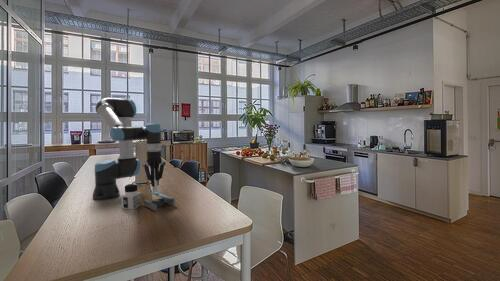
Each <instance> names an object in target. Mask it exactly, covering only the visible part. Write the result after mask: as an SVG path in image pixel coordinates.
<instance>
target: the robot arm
mask: <svg viewBox="0 0 500 281" xmlns="http://www.w3.org/2000/svg"><path fill="white" fill-rule="evenodd" d="M95 112H96V114H97V115H98V117H99V118H102V119H103V121H104V122H105V123H106V125H107V126H108V127H109V129H110V131H109V136H110V139H111V140H112V141H114V142H118V147H119V149H118V150H119V156H118V157H117V161H116V160H115V159H106V160H105V159H104V160H102V161H98V162H97V163H95V164H94V170H93V171H94V179H95V180H94V181H95V182H94V184H95V186H94V189H93V192H92V199H93V200H99V201H102V200H110V199H115V198H117V197H119V196H121V195H120V194H121V193H120V190H119V187H118V185H117V180H118V179H124V178H125V179H126V178H132V177H136V176H138V174H139V172H140V171H141V163H140V159H138V158H137V156H136V155H135V154H134V141H145V140H146V151H147V152H146V158H147V160H146V162H145V163H143V164H142V167H143V168H144V172H145V174H146V178H147V180H148V181H150V183H151V184H150V185H151V187H152V192H155V193H159V192H158V187H159V185H160V180H161V179H163V174H164V170H165V165H166V162H165V161H163V160H162V139H161V138H162V135H161V134H162V132H161V131H162V130H161V124H160V123H147V124H146V125H145V126H133V125H132V123H133V122H132V120H134V117H135V116H136V115H137V105H136V104H135V102H134V100H132V99H129V98H118V97H117V98H116V97H115V98H114V97H105V98H102V99H100V100H99V101H98V102H97V103H96V105H95Z"/></svg>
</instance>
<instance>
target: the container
mask: <svg viewBox="0 0 500 281" xmlns="http://www.w3.org/2000/svg"><path fill="white" fill-rule="evenodd" d="M142 199H143V198H142V192H141V191H139V190H138V184H136V183H128V184H126V185H125V186H124V193H123V194H121V195H120V201H121V202H120V204H121V207H120V208H121V209H122V210H123V209H125V210H134V209H137V208H138V207H141V206H142V204H143V203H142V202H143V201H142Z"/></svg>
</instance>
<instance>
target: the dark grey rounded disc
mask: <svg viewBox="0 0 500 281" xmlns="http://www.w3.org/2000/svg"><path fill="white" fill-rule="evenodd" d="M150 202H152V203H154V204H156V205H157V208H162V207H163V206H165V202H164V199H161V198H155V199H152V200H151V201H150Z"/></svg>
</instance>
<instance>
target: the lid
mask: <svg viewBox="0 0 500 281" xmlns="http://www.w3.org/2000/svg"><path fill="white" fill-rule="evenodd" d="M146 193H148V194H150V195H153V196H155V197H159V198H161V197H163V198H168V199H173V198H174V197H171V196H168V195H165V194H164V193H159V192H153V190H146Z"/></svg>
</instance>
